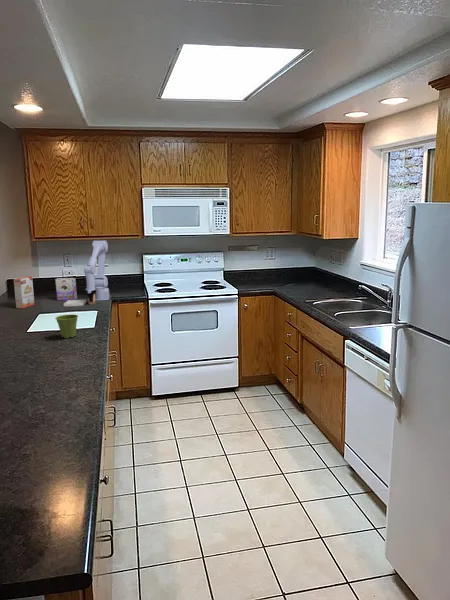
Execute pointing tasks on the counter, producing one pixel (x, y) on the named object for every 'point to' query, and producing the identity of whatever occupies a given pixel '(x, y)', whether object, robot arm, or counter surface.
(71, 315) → the plant pot
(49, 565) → the counter surface
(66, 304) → the tray
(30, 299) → the cracker box
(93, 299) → the peach small lump
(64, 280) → the candy box
